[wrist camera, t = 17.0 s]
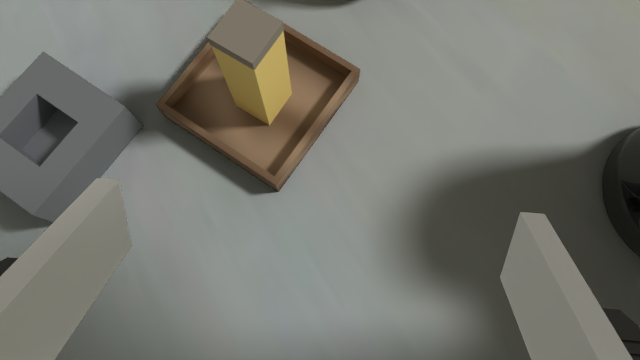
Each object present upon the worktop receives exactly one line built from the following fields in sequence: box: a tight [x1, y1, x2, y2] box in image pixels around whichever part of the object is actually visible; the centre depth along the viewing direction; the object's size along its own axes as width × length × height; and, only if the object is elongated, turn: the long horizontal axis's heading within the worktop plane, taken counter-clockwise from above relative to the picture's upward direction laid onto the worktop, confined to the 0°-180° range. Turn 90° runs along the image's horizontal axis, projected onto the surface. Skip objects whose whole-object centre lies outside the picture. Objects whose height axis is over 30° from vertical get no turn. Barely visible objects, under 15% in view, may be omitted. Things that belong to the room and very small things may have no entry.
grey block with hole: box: [0, 52, 143, 222], centre depth 44 cm, size 12×10×4 cm
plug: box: [207, 0, 292, 125], centre depth 41 cm, size 4×4×12 cm
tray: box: [156, 0, 360, 192], centre depth 47 cm, size 14×14×2 cm
